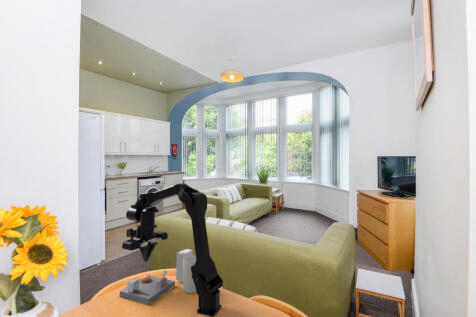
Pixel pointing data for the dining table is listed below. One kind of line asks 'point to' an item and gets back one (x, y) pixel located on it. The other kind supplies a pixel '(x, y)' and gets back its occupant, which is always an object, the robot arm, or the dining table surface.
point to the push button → (146, 278)
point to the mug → (188, 274)
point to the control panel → (148, 290)
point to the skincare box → (181, 263)
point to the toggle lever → (163, 276)
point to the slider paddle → (133, 285)
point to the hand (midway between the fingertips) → (145, 261)
